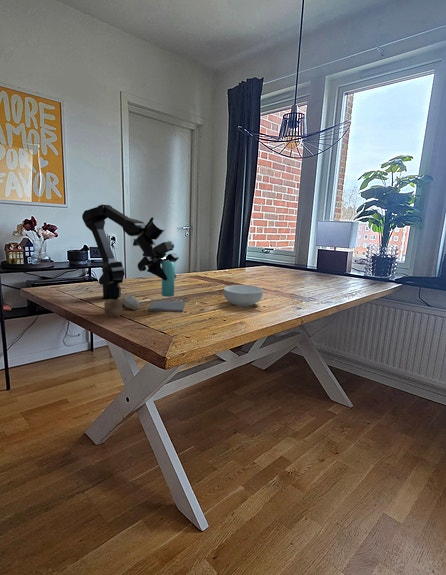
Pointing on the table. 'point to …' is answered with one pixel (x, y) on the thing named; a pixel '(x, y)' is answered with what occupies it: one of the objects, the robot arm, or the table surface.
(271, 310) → the table surface
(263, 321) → the table surface
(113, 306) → the walnut block
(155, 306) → the charcoal mat
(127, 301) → the decorative stone
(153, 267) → the robot arm
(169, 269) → the teal tall cylinder
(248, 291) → the cereal bowl
